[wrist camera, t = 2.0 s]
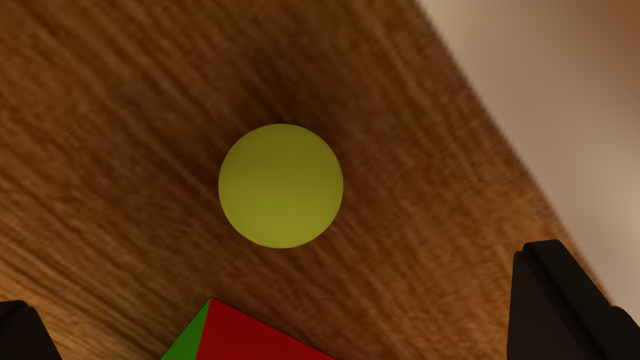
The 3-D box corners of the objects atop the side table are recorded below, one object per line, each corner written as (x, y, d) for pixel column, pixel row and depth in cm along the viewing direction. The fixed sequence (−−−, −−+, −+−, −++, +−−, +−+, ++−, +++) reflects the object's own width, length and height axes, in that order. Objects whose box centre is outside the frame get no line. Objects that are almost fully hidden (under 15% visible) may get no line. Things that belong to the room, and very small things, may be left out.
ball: (216, 113, 15) (192, 167, 12) (332, 98, 15) (340, 148, 12) (240, 212, 17) (225, 281, 14) (345, 199, 17) (354, 266, 13)
